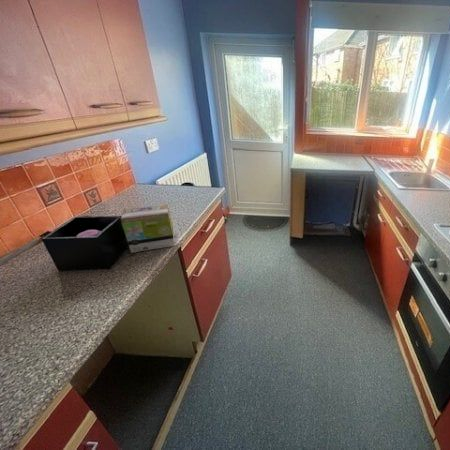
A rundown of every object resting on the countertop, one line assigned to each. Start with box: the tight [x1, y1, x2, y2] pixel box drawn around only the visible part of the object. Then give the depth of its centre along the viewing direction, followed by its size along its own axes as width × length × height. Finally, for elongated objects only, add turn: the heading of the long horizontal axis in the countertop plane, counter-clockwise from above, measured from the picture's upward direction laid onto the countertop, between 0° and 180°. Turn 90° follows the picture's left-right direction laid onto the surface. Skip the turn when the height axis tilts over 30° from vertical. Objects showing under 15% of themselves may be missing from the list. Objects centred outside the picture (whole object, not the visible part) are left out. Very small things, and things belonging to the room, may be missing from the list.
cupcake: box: [76, 230, 101, 237], centre depth 87 cm, size 9×9×10 cm
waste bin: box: [41, 215, 130, 272], centre depth 87 cm, size 16×16×13 cm
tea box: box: [121, 203, 176, 254], centre depth 95 cm, size 15×10×15 cm, turn 115°
